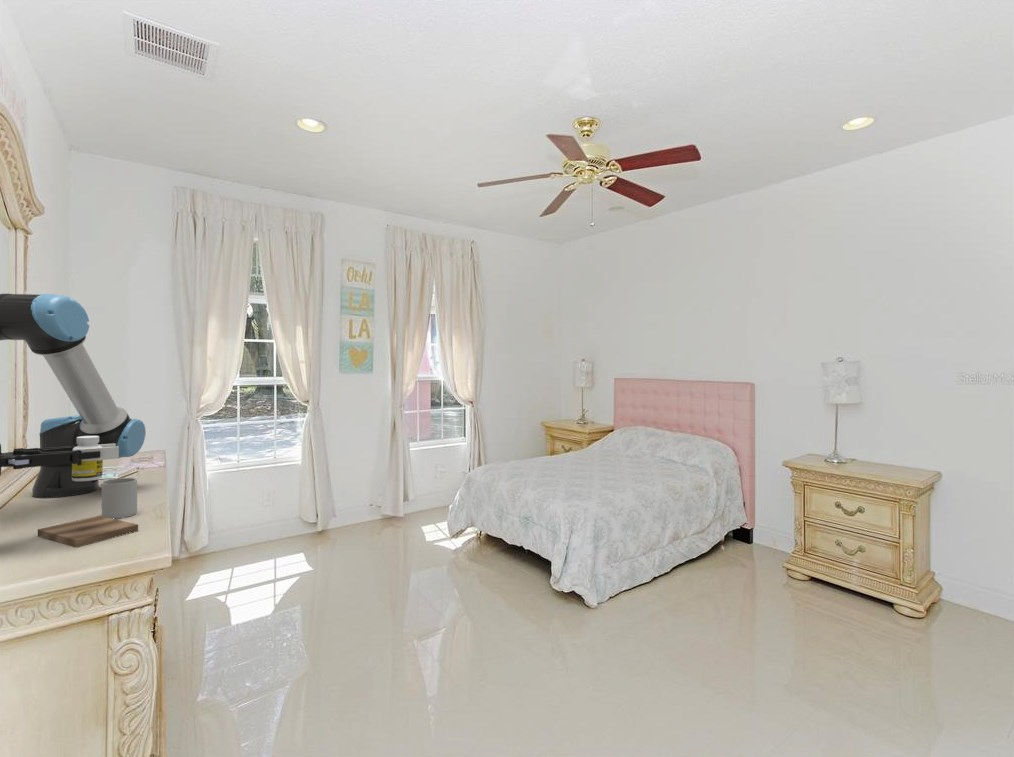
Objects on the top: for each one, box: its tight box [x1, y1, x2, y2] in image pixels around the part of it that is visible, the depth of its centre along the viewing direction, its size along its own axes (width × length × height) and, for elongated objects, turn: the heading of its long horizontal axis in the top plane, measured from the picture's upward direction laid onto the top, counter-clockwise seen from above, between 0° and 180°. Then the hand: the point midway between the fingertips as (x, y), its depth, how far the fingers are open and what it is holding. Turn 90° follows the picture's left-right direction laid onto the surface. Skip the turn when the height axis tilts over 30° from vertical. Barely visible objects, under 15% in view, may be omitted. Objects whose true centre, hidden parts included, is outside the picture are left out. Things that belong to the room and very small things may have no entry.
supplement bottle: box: [72, 436, 104, 481], centre depth 114 cm, size 5×5×10 cm
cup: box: [101, 477, 138, 519], centre depth 130 cm, size 7×10×9 cm
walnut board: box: [37, 515, 139, 548], centre depth 115 cm, size 16×12×2 cm
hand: (116, 450), depth 118 cm, fingers closed on supplement bottle, 5 cm apart
